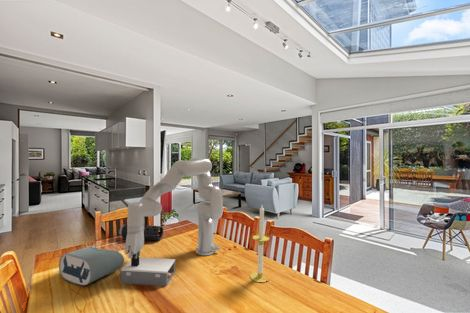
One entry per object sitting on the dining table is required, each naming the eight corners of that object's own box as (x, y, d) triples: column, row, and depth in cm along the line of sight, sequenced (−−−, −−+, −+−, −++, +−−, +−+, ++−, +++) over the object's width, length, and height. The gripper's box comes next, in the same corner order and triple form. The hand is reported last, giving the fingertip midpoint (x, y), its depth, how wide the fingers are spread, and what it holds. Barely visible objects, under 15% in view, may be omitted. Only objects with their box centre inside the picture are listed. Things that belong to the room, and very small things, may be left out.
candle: (254, 284, 109) (256, 206, 108) (247, 273, 118) (249, 202, 117) (273, 281, 111) (275, 205, 110) (265, 271, 121) (267, 201, 120)
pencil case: (58, 278, 109) (59, 251, 109) (95, 262, 127) (96, 239, 127) (89, 290, 101) (91, 261, 101) (124, 271, 119) (125, 246, 119)
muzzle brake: (157, 243, 153) (157, 228, 153) (118, 241, 156) (118, 226, 155) (163, 238, 162) (163, 224, 162) (126, 235, 165) (126, 221, 165)
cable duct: (174, 272, 118) (175, 260, 117) (165, 287, 105) (166, 274, 105) (133, 269, 119) (133, 258, 119) (119, 284, 106) (120, 271, 106)
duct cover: (175, 260, 117) (175, 259, 117) (166, 273, 105) (166, 271, 105) (133, 258, 119) (133, 256, 119) (120, 270, 107) (120, 268, 107)
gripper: (136, 222, 118) (135, 257, 118) (119, 233, 103) (118, 273, 103) (150, 223, 117) (149, 258, 118) (135, 233, 102) (134, 274, 103)
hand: (135, 265), depth 110 cm, fingers closed
